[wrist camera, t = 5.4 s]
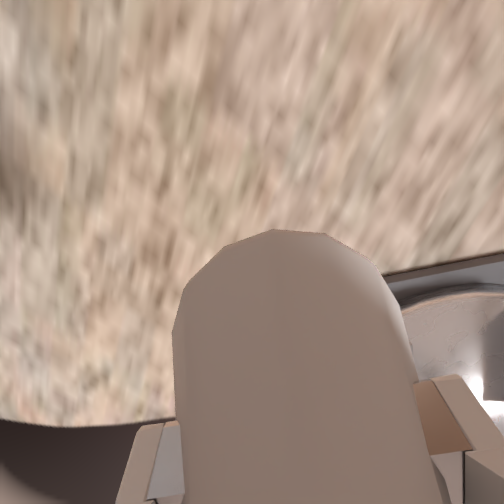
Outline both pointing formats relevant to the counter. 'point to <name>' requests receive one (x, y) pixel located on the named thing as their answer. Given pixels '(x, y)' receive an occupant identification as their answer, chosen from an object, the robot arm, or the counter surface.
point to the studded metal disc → (461, 339)
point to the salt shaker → (297, 380)
